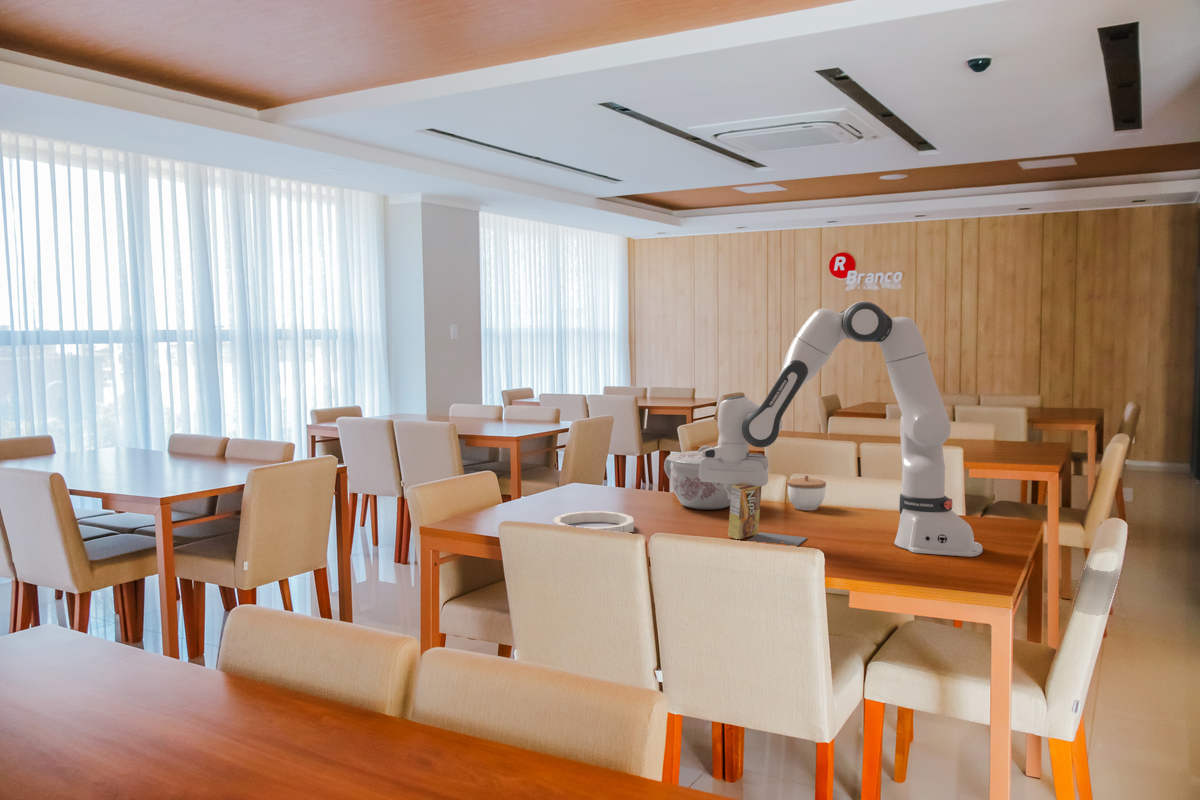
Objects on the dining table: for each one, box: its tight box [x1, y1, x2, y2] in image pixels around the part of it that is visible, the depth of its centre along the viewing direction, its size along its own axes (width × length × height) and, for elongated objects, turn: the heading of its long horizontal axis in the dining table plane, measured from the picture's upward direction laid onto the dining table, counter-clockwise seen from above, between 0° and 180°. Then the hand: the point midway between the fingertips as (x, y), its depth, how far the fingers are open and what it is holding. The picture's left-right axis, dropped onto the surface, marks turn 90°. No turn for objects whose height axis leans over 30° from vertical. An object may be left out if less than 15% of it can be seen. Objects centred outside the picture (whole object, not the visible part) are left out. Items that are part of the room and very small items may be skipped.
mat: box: [747, 531, 808, 547], centre depth 245 cm, size 14×12×1 cm
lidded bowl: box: [786, 475, 827, 511], centre depth 288 cm, size 13×13×11 cm
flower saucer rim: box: [552, 510, 635, 533], centre depth 260 cm, size 24×24×3 cm
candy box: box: [727, 484, 763, 540], centre depth 248 cm, size 9×4×15 cm, turn 129°
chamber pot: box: [663, 445, 736, 511], centre depth 293 cm, size 28×28×21 cm
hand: (733, 499), depth 250 cm, fingers closed
